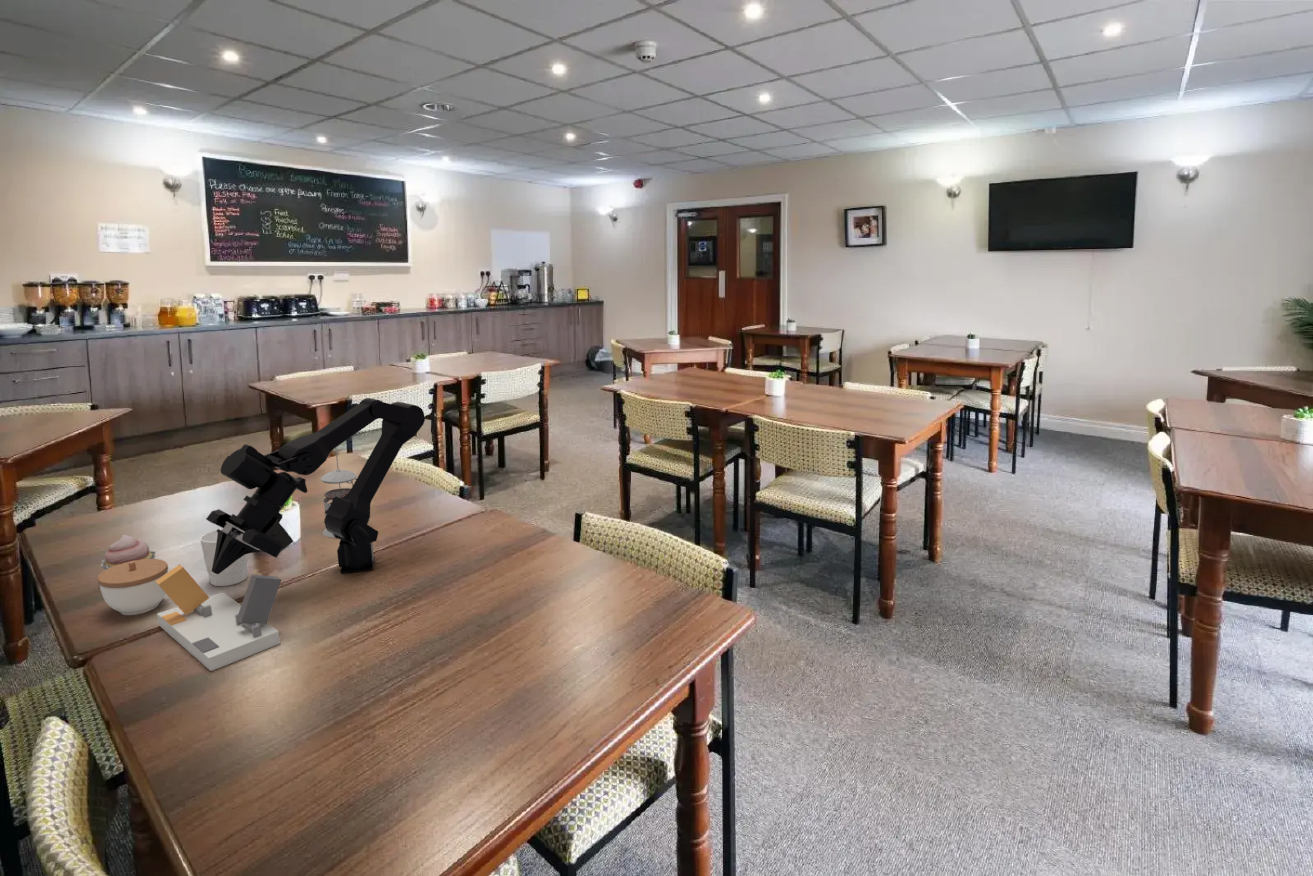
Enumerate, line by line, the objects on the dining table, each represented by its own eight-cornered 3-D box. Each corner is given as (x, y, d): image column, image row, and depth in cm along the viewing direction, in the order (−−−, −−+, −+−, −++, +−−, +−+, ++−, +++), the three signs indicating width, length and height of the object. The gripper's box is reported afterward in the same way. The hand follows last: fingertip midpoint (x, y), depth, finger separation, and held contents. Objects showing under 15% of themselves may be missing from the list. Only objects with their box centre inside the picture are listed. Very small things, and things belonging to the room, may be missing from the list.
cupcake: (133, 568, 152) (125, 524, 149) (170, 572, 150) (163, 528, 147) (92, 587, 143) (82, 541, 140) (130, 592, 141) (122, 545, 139)
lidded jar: (133, 593, 141) (125, 550, 138) (186, 595, 140) (179, 551, 138) (90, 620, 130) (80, 574, 128) (147, 622, 130) (138, 575, 128)
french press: (313, 535, 170) (302, 435, 164) (342, 518, 181) (332, 424, 175) (350, 539, 169) (340, 438, 163) (377, 521, 180) (368, 426, 174)
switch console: (224, 603, 137) (221, 583, 136) (280, 643, 124) (277, 621, 122) (159, 625, 129) (155, 604, 128) (210, 671, 115) (207, 648, 114)
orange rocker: (205, 596, 132) (175, 561, 127) (217, 605, 129) (186, 569, 124) (182, 613, 130) (151, 578, 125) (194, 622, 127) (162, 587, 122)
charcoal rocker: (255, 624, 127) (272, 574, 128) (268, 633, 124) (285, 582, 124) (230, 623, 123) (247, 571, 124) (243, 633, 120) (260, 580, 121)
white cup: (231, 589, 143) (224, 543, 140) (197, 585, 144) (190, 540, 142) (259, 573, 150) (253, 529, 148) (227, 569, 152) (221, 526, 149)
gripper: (325, 531, 137) (274, 604, 131) (277, 508, 147) (229, 575, 142) (279, 504, 128) (223, 582, 123) (232, 482, 139) (178, 552, 134)
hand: (214, 573), depth 131 cm, fingers closed
